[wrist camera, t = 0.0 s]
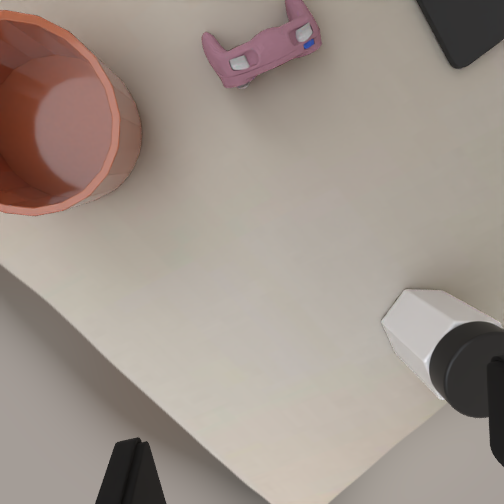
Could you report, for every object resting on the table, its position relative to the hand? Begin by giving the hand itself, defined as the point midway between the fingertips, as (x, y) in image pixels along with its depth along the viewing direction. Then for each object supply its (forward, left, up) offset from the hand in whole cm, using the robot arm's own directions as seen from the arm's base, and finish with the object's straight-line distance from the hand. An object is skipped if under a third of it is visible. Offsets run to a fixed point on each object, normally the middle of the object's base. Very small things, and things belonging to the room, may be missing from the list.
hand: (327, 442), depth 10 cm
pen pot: (-13, -14, -31) cm, 37 cm away
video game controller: (-17, +5, -31) cm, 36 cm away
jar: (+14, +18, -31) cm, 39 cm away
